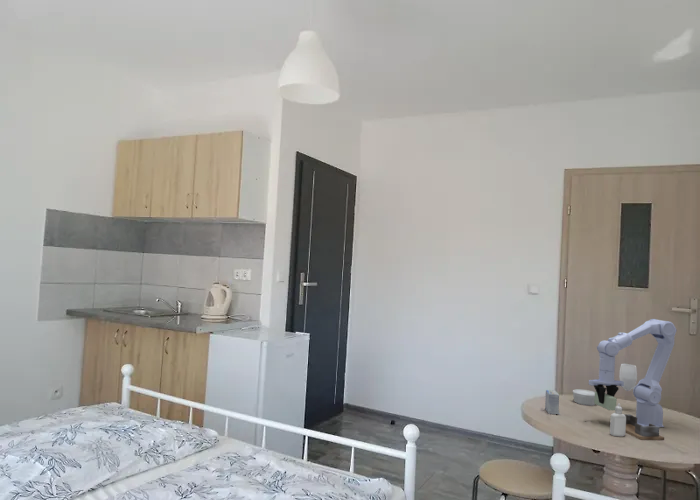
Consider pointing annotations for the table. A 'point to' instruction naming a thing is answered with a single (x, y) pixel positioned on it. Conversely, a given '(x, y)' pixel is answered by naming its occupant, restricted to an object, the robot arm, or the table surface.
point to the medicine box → (552, 402)
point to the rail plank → (606, 402)
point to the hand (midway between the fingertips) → (605, 403)
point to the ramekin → (584, 397)
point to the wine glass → (628, 376)
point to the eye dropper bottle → (618, 422)
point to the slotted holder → (641, 429)
